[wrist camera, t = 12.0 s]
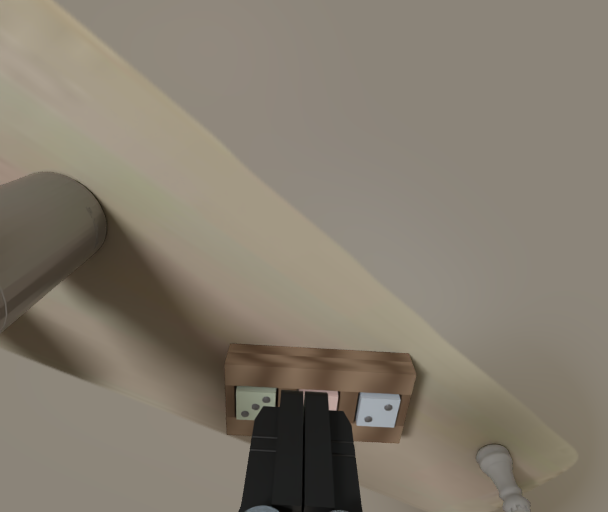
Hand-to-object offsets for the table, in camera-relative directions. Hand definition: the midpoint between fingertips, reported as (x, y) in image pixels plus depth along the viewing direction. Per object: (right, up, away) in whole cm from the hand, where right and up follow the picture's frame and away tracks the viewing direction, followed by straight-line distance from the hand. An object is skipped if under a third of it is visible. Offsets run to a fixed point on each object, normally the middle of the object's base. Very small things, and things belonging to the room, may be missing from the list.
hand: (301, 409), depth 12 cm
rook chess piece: (+26, -22, +40) cm, 53 cm away
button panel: (+2, -11, +35) cm, 36 cm away
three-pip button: (-5, -11, +33) cm, 35 cm away
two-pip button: (+9, -12, +33) cm, 36 cm away
